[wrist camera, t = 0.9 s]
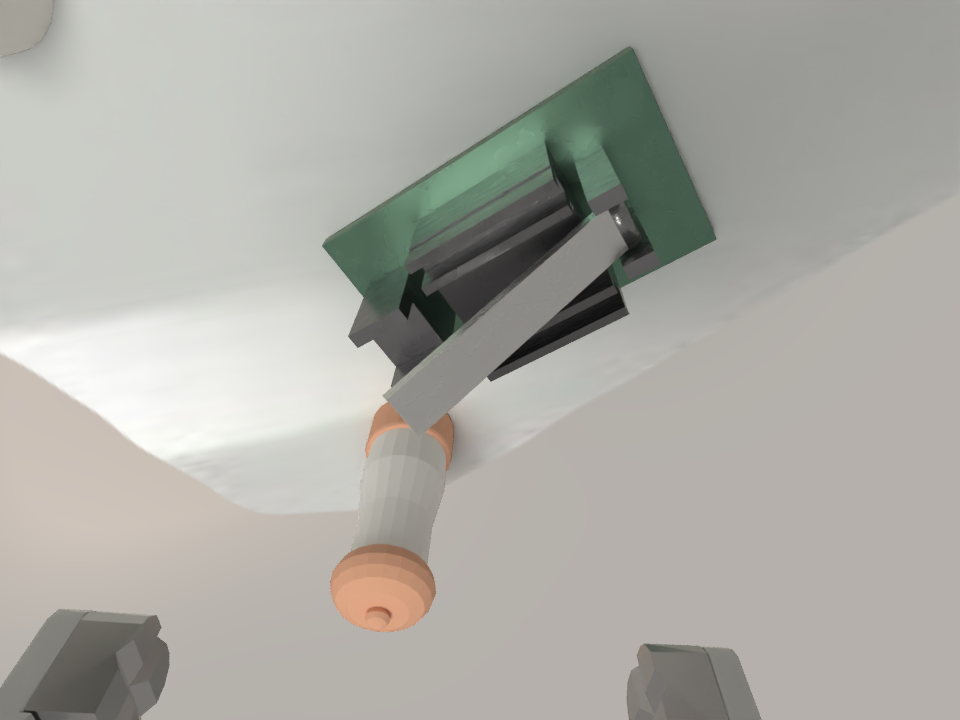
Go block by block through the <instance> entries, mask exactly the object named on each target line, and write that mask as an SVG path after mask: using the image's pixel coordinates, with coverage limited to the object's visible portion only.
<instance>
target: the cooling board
mask: <svg viewBox="0 0 960 720" xmlns="http://www.w3.org/2000/svg"><path fill="white" fill-rule="evenodd" d="M623 201H624V203H625V205H626V207H627V209H628V211H629V213H630V215H631V217H632V219H633V221H634V223H635V225H636V227H637V229H638V231H639V232H640V234H641V236H642V240H641V241H640V242H639V243H638V244H637V245H636V246H634V247H632V248H630V249H628V250H627V251H626V252H625V253H624V254H623V255H621V256H620V257H619V258H618V259H617V260H616V261H615V262H614V263H613V264H611V265H610V266H609V267H608V268H607V269H606V270H605V271H604V272H603V273H601V274H600V275H599V276H598V277H597V278H596V279H595V280H594V281H593V282H591V283H590V284H589V285H588V286H587V287H586V288H585V289H584V290H583V291H581V292H580V293H579V294H578V295H577V296H576V297H575V298H574V299H573V300H571V301H570V302H569V303H568V304H567V305H566V306H565V307H564V308H563V309H561V310H560V311H559V312H558V313H557V314H556V315H555V316H554V317H553V318H551V319H550V320H549V321H548V322H547V323H546V324H545V325H544V326H543V327H541V328H540V329H539V330H538V331H537V332H536V333H535V334H534V335H533V336H531V337H530V338H529V339H528V340H527V341H526V342H525V343H524V344H523V345H521V346H520V347H519V348H518V349H517V350H516V351H515V352H514V353H513V354H511V355H510V356H509V357H508V358H507V359H506V360H505V361H504V362H503V363H501V364H500V365H499V366H498V367H497V368H496V369H495V370H494V371H493V372H491V373H490V374H489V375H488V376H487V377H488V379H489V380H490V381H493V380H495V379H497V378H499V377H501V376H503V375H505V374H508V373H510V372H512V371H514V370H516V369H518V368H520V367H522V366H524V365H526V364H528V363H530V362H532V361H534V360H536V359H538V358H540V357H542V356H544V355H546V354H548V353H551V352H553V351H555V350H557V349H559V348H561V347H563V346H565V345H567V344H569V343H571V342H573V341H575V340H577V339H579V338H581V337H583V336H585V335H587V334H589V333H592V332H594V331H596V330H598V329H600V328H602V327H604V326H606V325H608V324H610V323H612V322H614V321H616V320H618V319H620V318H622V317H624V316H626V315H628V314H629V312H628V309H627V307H626V304H625V301H624V298H623V294H622V291H621V287H623V286H625V285H627V284H629V283H631V282H633V281H635V280H637V279H639V278H641V277H643V276H645V275H647V274H649V273H651V272H653V271H655V270H657V269H659V268H661V267H663V266H665V265H667V264H669V263H671V262H673V261H675V260H676V259H678V258H680V257H682V256H684V255H686V254H688V253H690V252H692V251H694V250H696V249H698V248H700V247H702V246H704V245H706V244H708V243H710V242H712V241H714V240H716V236H715V234H714V232H713V230H712V227H711V225H710V223H709V221H708V218H707V216H706V214H705V212H704V209H703V207H702V205H701V202H700V200H699V198H698V196H697V193H696V191H695V189H694V187H693V184H692V182H691V180H690V178H689V175H688V173H687V171H686V169H685V166H684V164H683V162H682V160H681V157H680V155H679V153H678V150H677V148H676V146H675V144H674V141H673V139H672V137H671V135H670V132H669V130H668V128H667V126H666V123H665V121H664V119H663V117H662V114H661V112H660V110H659V107H658V105H657V103H656V101H655V98H654V96H653V94H652V92H651V89H650V87H649V85H648V83H647V80H646V78H645V76H644V74H643V71H642V69H641V67H640V65H639V62H638V60H637V58H636V55H635V53H634V51H633V49H632V48H631V47H627V48H626V49H624V50H623V51H621V52H620V53H618V54H616V55H615V56H613V57H612V58H610V59H609V60H607V61H605V62H604V63H602V64H601V65H599V66H598V67H596V68H594V69H593V70H591V71H590V72H588V73H587V74H585V75H583V76H582V77H580V78H579V79H577V80H576V81H574V82H572V83H571V84H569V85H568V86H566V87H565V88H563V89H561V90H560V91H558V92H557V93H555V94H554V95H552V96H550V97H549V98H547V99H546V100H544V101H543V102H541V103H539V104H538V105H536V106H535V107H533V108H532V109H530V110H528V111H527V112H525V113H524V114H522V115H521V116H519V117H517V118H516V119H514V120H513V121H511V122H510V123H508V124H506V125H505V126H503V127H502V128H500V129H499V130H497V131H495V132H494V133H492V134H491V135H489V136H488V137H486V138H484V139H483V140H481V141H480V142H478V143H477V144H475V145H473V146H472V147H470V148H469V149H467V150H466V151H464V152H462V153H461V154H459V155H458V156H456V157H455V158H453V159H451V160H450V161H448V162H447V163H445V164H444V165H442V166H440V167H439V168H437V169H436V170H434V171H433V172H431V173H429V174H428V175H426V176H425V177H423V178H422V179H420V180H418V181H417V182H415V183H414V184H412V185H411V186H409V187H407V188H406V189H404V190H403V191H401V192H400V193H398V194H396V195H395V196H393V197H392V198H390V199H389V200H387V201H385V202H384V203H382V204H381V205H379V206H378V207H376V208H374V209H373V210H371V211H370V212H368V213H367V214H365V215H363V216H362V217H360V218H359V219H357V220H356V221H354V222H352V223H351V224H349V225H348V226H346V227H345V228H343V229H341V230H340V231H338V232H337V233H335V234H334V235H332V236H330V237H329V238H327V239H326V240H325V242H324V244H323V245H322V246H323V247H324V249H325V250H326V251H327V252H328V254H329V255H330V256H331V257H332V259H333V260H334V261H335V262H336V264H337V265H338V266H339V267H340V269H341V270H342V271H343V272H344V273H345V275H346V276H347V277H348V278H349V280H350V281H351V282H352V283H353V285H354V286H355V287H356V288H357V290H358V291H359V292H360V293H361V294H362V296H363V297H364V299H363V301H362V304H361V306H360V309H359V311H358V313H357V316H356V318H355V321H354V323H353V326H352V328H351V331H350V333H349V336H348V337H349V338H350V339H351V341H352V342H353V343H354V344H355V345H356V346H357V348H359V347H360V346H362V345H364V344H366V343H368V342H370V341H371V340H373V339H374V341H375V342H376V343H377V344H378V345H379V347H380V348H381V349H382V350H383V351H384V353H385V354H386V355H387V356H388V357H389V359H390V360H391V361H392V362H393V363H394V365H395V366H396V369H395V373H394V377H393V381H392V384H391V387H393V386H394V385H395V384H396V383H397V382H399V381H400V380H401V379H402V378H403V377H404V376H405V375H407V374H408V373H409V372H410V371H411V370H412V369H413V368H415V367H416V366H417V365H418V364H419V363H420V362H421V361H423V360H424V359H425V358H426V357H427V356H428V355H430V354H431V353H432V352H433V351H434V350H435V349H436V348H438V347H439V346H440V345H441V344H442V343H443V342H444V341H446V340H447V339H448V338H449V337H450V336H451V335H452V334H454V333H455V332H456V331H457V330H458V329H459V328H460V327H462V326H463V325H464V324H465V323H466V322H467V321H468V320H470V319H471V318H472V317H473V316H474V315H475V314H477V313H478V312H479V311H480V310H481V309H482V308H483V307H485V306H486V305H487V304H488V303H489V302H490V301H491V300H493V299H494V298H495V297H496V296H497V295H498V294H499V293H501V292H502V291H503V290H504V289H505V288H506V287H507V286H509V285H510V284H511V283H512V282H513V281H514V280H515V279H517V278H518V277H519V276H520V275H521V274H522V273H524V272H525V271H526V270H527V269H528V268H529V267H530V266H532V265H533V264H534V263H535V262H536V261H537V260H538V259H540V258H541V257H542V256H543V255H544V254H545V253H546V252H548V251H549V250H550V249H551V248H552V247H553V246H554V245H556V244H557V243H558V242H559V241H560V240H561V239H562V238H564V237H565V236H566V235H567V234H568V233H569V232H571V231H572V230H573V229H574V228H575V227H576V226H577V225H579V224H580V223H581V222H582V221H583V220H584V219H585V218H587V217H588V216H589V215H590V214H591V213H592V212H593V213H594V215H595V217H596V216H598V215H599V214H601V213H603V212H605V211H607V210H609V209H610V208H612V207H614V206H616V205H618V204H619V203H621V202H623Z"/></svg>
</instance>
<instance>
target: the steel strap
mask: <svg viewBox="0 0 960 720" xmlns="http://www.w3.org/2000/svg"><path fill="white" fill-rule="evenodd" d="M641 240H642V236H641V234H640V232H639V231H638V229H637V227H636V225H635V223H634V221H633V219H632V217H631V215H630V213H629V211H628V209H627V207H626V205H625V203H624V201H623V202H621V203H619V204H618V205H616V206H614V207H612V208H610V209H609V210H607V211H605V212H603V213H601V214H599V215H598V216H596V217H595V215H594V213H593V212H592V213H591V214H590V215H589V216H588V217H587V218H585V219H584V220H583V221H582V222H581V223H580V224H579V225H577V226H576V227H575V228H574V229H573V230H572V231H571V232H569V233H568V234H567V235H566V236H565V237H564V238H562V239H561V240H560V241H559V242H558V243H557V244H556V245H554V246H553V247H552V248H551V249H550V250H549V251H548V252H546V253H545V254H544V255H543V256H542V257H541V258H540V259H538V260H537V261H536V262H535V263H534V264H533V265H532V266H530V267H529V268H528V269H527V270H526V271H525V272H524V273H522V274H521V275H520V276H519V277H518V278H517V279H515V280H514V281H513V282H512V283H511V284H510V285H509V286H507V287H506V288H505V289H504V290H503V291H502V292H501V293H499V294H498V295H497V296H496V297H495V298H494V299H493V300H491V301H490V302H489V303H488V304H487V305H486V306H485V307H483V308H482V309H481V310H480V311H479V312H478V313H477V314H475V315H474V316H473V317H472V318H471V319H470V320H468V321H467V322H466V323H465V324H464V325H463V326H462V327H460V328H459V329H458V330H457V331H456V332H455V333H454V334H452V335H451V336H450V337H449V338H448V339H447V340H446V341H444V342H443V343H442V344H441V345H440V346H439V347H438V348H436V349H435V350H434V351H433V352H432V353H431V354H430V355H428V356H427V357H426V358H425V359H424V360H423V361H421V362H420V363H419V364H418V365H417V366H416V367H415V368H413V369H412V370H411V371H410V372H409V373H408V374H407V375H405V376H404V377H403V378H402V379H401V380H400V381H399V382H397V383H396V384H395V385H394V386H393V387H392V388H391V389H389V390H388V391H387V392H386V393H385V394H384V395H383V397H384V398H385V399H386V400H387V401H388V403H389V404H390V405H391V406H392V407H393V408H394V409H395V411H396V412H397V413H398V414H399V415H400V416H401V417H402V419H403V420H404V421H405V422H406V423H407V424H408V425H409V427H410V428H411V429H412V430H413V431H414V432H415V433H416V434H417V435H418V436H419V437H420V436H421V435H422V434H424V433H425V432H426V431H427V430H428V429H429V428H430V427H431V426H433V425H434V424H435V423H436V422H437V421H438V420H439V419H440V418H441V417H443V416H444V415H445V414H446V413H447V412H448V411H449V410H450V409H451V408H453V407H454V406H455V405H456V404H457V403H458V402H459V401H460V400H461V399H463V398H464V397H465V396H466V395H467V394H468V393H469V392H470V391H471V390H473V389H474V388H475V387H476V386H477V385H478V384H479V383H480V382H481V381H483V380H484V379H485V378H486V377H487V376H488V375H489V374H490V373H491V372H493V371H494V370H495V369H496V368H497V367H498V366H499V365H500V364H501V363H503V362H504V361H505V360H506V359H507V358H508V357H509V356H510V355H511V354H513V353H514V352H515V351H516V350H517V349H518V348H519V347H520V346H521V345H523V344H524V343H525V342H526V341H527V340H528V339H529V338H530V337H531V336H533V335H534V334H535V333H536V332H537V331H538V330H539V329H540V328H541V327H543V326H544V325H545V324H546V323H547V322H548V321H549V320H550V319H551V318H553V317H554V316H555V315H556V314H557V313H558V312H559V311H560V310H561V309H563V308H564V307H565V306H566V305H567V304H568V303H569V302H570V301H571V300H573V299H574V298H575V297H576V296H577V295H578V294H579V293H580V292H581V291H583V290H584V289H585V288H586V287H587V286H588V285H589V284H590V283H591V282H593V281H594V280H595V279H596V278H597V277H598V276H599V275H600V274H601V273H603V272H604V271H605V270H606V269H607V268H608V267H609V266H610V265H611V264H613V263H614V262H615V261H616V260H617V259H618V258H619V257H620V256H621V255H623V254H624V253H625V252H626V251H627V250H628V249H630V248H632V247H634V246H636V245H637V244H638V243H639V242H640V241H641Z"/></svg>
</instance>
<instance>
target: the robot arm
mask: <svg viewBox="0 0 960 720" xmlns="http://www.w3.org/2000/svg"><path fill="white" fill-rule="evenodd" d="M160 629H161V625H160V623H159V620H158V618H157V615H144V614H127V613H113V612H97V611H89V610H70V609H59V610H57V611H56V612H55V613H54V614H53V615H51V616H50V617H49V618H48V619H47V620H46V622H45V623H44V625H43V626H42V627H41V629H40V630H39V632H38V634H37V635H36V636H35V638H34V639H33V641H32V642H31V644H30V645H29V646H28V648H27V649H26V651H25V652H24V654H23V655H22V657H21V658H20V660H19V661H18V662H17V664H16V665H15V667H14V668H13V670H12V671H11V673H10V674H9V676H8V677H7V679H6V680H5V682H4V683H3V684H2V686H1V688H0V720H141V716H142V715H143V714H144V713H145V712H146V711H147V710H149V709H150V708H151V707H152V706H154V705H155V704H156V703H157V701H158V699H159V697H160V694H161V692H162V690H163V687H164V685H165V681H166V677H167V673H168V669H169V650H168V647H167V644H166V643H165V642H164V641H162V640H161V639H160V638H158V637H157V635H158V633H159V631H160ZM637 657H638V662H639V666H638V667H636V668H635V669H633V670H632V671H631V673H630V677H629V680H628V686H627V707H628V715H629V720H761V717H760V714H759V712H758V709H757V706H756V704H755V701H754V698H753V695H752V693H751V690H750V688H749V685H748V682H747V679H746V677H745V674H744V672H743V669H742V666H741V663H740V661H739V658H738V656H737V655H736V653H735V652H734V651H733V650H732V649H729V648H719V647H700V646H691V645H666V644H664V645H663V644H643V645H642V646H641V647H640V649H639V651H638V654H637Z"/></svg>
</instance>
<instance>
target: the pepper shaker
mask: <svg viewBox="0 0 960 720" xmlns="http://www.w3.org/2000/svg"><path fill="white" fill-rule="evenodd" d="M453 438H454V430H453V423H452V421H451V419H450V417H449V415H448V414H447V413H446V414H445V415H444V416H443V417H441V418H440V419H439V420H438V421H437V422H436V423H435V424H434V425H433V426H431V427H430V428H429V429H428V430H427V431H426V432H425V433H424V434H422V435H421V436H420V437H419V436H418V435H417V434H416V433H415V432H414V431H413V430H412V429H411V428H410V427H409V425H408V424H407V423H406V422H405V421H404V420H403V419H402V417H401V416H400V415H399V414H398V413H397V412H396V411H395V409H394V408H393V407H392V406H391V405H390V404H389V403H386V404H385V405H383V406H382V407H381V408H380V409H379V410H378V412H377V413H376V414H375V416H374V420H373V423H372V427H371V431H370V434H369V438H368V441H367V445H366V449H365V450H366V456H367V461H366V464H365V468H364V471H363V474H362V478H361V485H360V503H359V519H358V523H357V527H356V532H355V536H354V540H353V544H352V548H351V552H350V553H348V554H347V555H346V556H345V557H344V558H343V559H342V560H341V561H340V563H339V564H338V565H337V566H336V568H335V569H334V571H333V573H332V577H331V581H330V587H331V588H330V589H331V595H332V598H333V602H334V604H335V606H336V608H337V610H338V611H339V612H340V613H341V615H342V616H343V617H344V618H345V619H346V620H348V621H349V622H351V623H352V624H354V625H356V626H359V627H361V628H364V629H368V630H372V631H377V632H394V631H399V630H404V629H406V628H409V627H411V626H413V625H414V624H416V623H417V622H418V621H419V620H420V619H421V618H422V617H423V616H424V615H425V614H426V613H427V612H428V611H429V609H430V606H431V604H432V602H433V599H434V597H435V594H436V588H435V581H434V577H433V574H432V572H431V570H430V569H429V567H428V565H427V562H428V554H429V548H430V540H431V533H432V526H433V523H434V520H435V517H436V514H437V511H438V508H439V505H440V502H441V499H442V495H443V493H444V485H445V472H446V471H447V469H448V467H449V464H450V462H451V457H452V447H453Z"/></svg>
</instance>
